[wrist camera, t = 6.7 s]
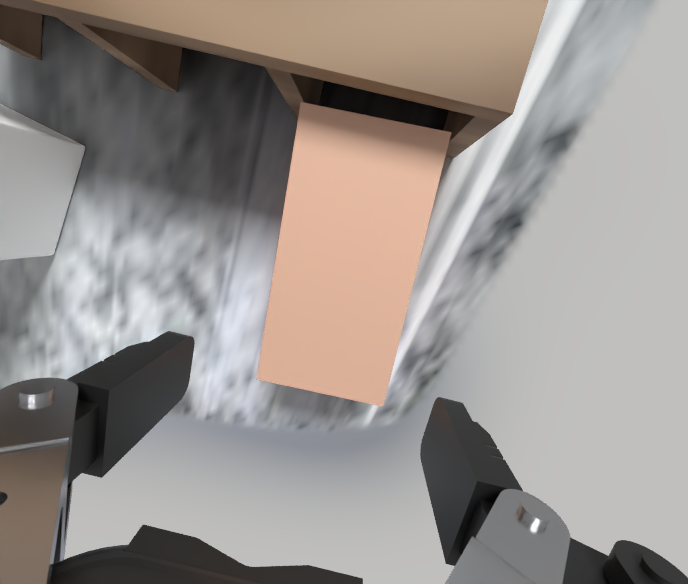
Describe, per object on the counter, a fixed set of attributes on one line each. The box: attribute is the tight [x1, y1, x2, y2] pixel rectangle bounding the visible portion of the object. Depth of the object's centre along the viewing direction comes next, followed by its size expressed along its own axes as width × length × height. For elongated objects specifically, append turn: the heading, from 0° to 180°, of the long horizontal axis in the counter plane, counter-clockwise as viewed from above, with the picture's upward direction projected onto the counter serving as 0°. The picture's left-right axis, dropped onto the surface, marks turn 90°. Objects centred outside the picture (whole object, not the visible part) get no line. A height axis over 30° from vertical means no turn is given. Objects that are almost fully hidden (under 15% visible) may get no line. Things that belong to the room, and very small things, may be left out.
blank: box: [256, 102, 451, 407], centre depth 14 cm, size 10×5×5 cm, turn 169°
